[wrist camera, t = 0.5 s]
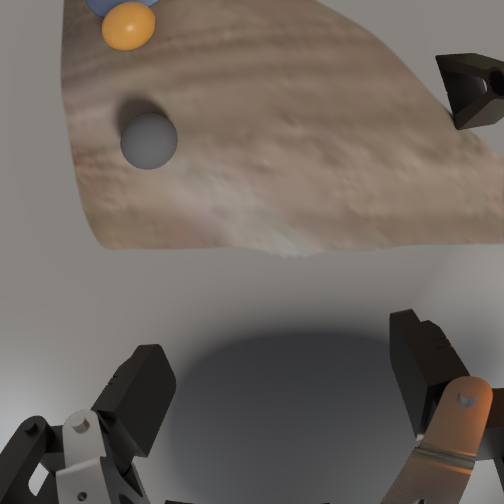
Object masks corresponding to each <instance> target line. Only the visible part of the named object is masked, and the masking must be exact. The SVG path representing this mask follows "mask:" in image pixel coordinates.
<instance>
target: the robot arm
mask: <svg viewBox="0 0 504 504" xmlns="http://www.w3.org/2000/svg"><path fill="white" fill-rule="evenodd" d="M389 322H390V323H389V324H390V325H389V331H390V332H389V333H390V334H389V335H390V336H389V339H390V340H389V354H390V362H391V366H392V370H393V372H394V375H395V378H396V381H397V383H398V386H399V389H400V392H401V395H402V398H403V401H404V404H405V407H406V410H407V413H408V415H409V419H410V422H411V425H412V428H413V432H414V435H415V438H416V440H420V439H422V440H421V442H420V444H419V446H418V447H415V448H414V450H413V451H412V453H411V454H410V456H409V458H408V459H407V461H406V463H405V465H404V466H403V468H402V470H401V471H400V473H399V475H398V476H397V478H396V480H395V481H394V483H393V484H392V486H391V488H390V489H389V491H388V492H387V494H386V495H385V497H384V498H383V500H382V501H381V503H380V504H459V502H460V499H461V497H462V495H463V492H464V490H465V488H466V486H467V483H468V481H469V478H470V476H471V473H472V470H473V468H474V464H475V461H479V460H490V459H493V460H494V463H495V466H496V469H497V472H498V475H499V478H500V482H501V485H502V488H503V492H504V388H498V389H494V388H491V387H490V386H489V384H488V383H487V382H486V381H484V380H483V379H481V378H478V377H474V376H470V374H469V372H468V371H467V369H466V367H465V366H464V364H463V363H462V361H461V359H460V358H459V356H458V355H457V353H456V351H455V350H454V348H453V347H451V344H450V342H449V340H448V339H446V336H445V334H444V333H443V331H442V330H441V328H440V327H438V326H437V325H436V324H434V323H432V322H431V321H429V320H427V321H423V322H420V320H419V319H418V317H417V316H416V314H415V313H414V311H413V310H412V309H408V310H404V311H399V312H394V313H391V314H390V319H389ZM175 391H176V378H175V375H174V373H173V371H172V369H171V366H170V364H169V362H168V360H167V358H166V355H165V353H164V351H163V349H162V347H161V346H160V345H159V344H151V345H139V346H138V347H137V349H136V350H135V351H134V353H133V355H132V356H131V357H130V358H129V359H128V360H127V361H125V362H124V363H123V364H122V365H121V366H119V368H118V369H117V371H116V372H115V373H114V375H113V378H111V379H110V381H109V382H108V385H106V387H105V388H104V390H103V391H102V393H101V394H100V396H99V397H98V399H97V400H96V402H95V403H94V405H93V407H92V408H91V410H81V411H78V412H76V413H74V414H72V415H71V416H70V417H69V418H68V419H67V420H66V421H65V423H64V425H61V426H50V425H49V424H48V423H47V421H46V420H45V419H44V418H43V417H42V416H33V417H30V418H28V419H26V420H25V421H24V422H22V423H21V425H20V426H19V427H18V429H17V430H16V432H15V433H14V435H13V436H12V437H11V439H10V440H9V442H8V443H7V445H6V446H5V448H4V449H3V451H2V452H1V454H0V504H151V503H150V501H149V499H148V497H147V494H146V492H145V489H144V487H143V484H142V482H141V479H140V477H139V474H138V471H137V469H136V466H135V464H134V463H133V462H132V460H133V457H134V456H139V457H148V455H149V452H150V450H151V448H152V445H153V443H154V440H155V438H156V436H157V434H158V431H159V429H160V426H161V424H162V422H163V420H164V417H165V415H166V413H167V410H168V408H169V406H170V403H171V401H172V399H173V396H174V394H175ZM39 462H40V463H41V464H42V465H43V466H44V467H45V468H46V470H47V471H48V472H49V474H48V476H47V477H46V479H45V481H44V483H43V485H42V487H41V489H40V491H39V492H38V494H37V496H35V495H33V494H32V493H31V491H30V489H29V486H28V483H29V480H30V478H31V476H32V474H33V472H34V471H35V469H36V467H37V465H38V464H39ZM165 504H191V503H182V502H175V501H168V500H166V501H165ZM325 504H330V503H325Z"/></svg>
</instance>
